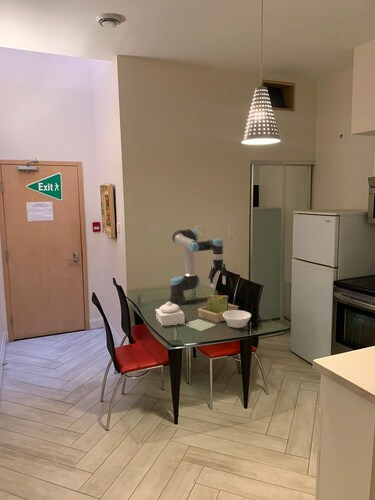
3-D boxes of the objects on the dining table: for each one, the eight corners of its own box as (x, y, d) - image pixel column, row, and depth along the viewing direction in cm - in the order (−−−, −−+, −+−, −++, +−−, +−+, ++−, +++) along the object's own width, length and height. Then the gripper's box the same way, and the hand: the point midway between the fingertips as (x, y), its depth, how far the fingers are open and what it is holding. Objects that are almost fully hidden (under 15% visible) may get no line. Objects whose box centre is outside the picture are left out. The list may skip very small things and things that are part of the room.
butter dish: (184, 323, 281) (183, 303, 279) (161, 327, 276) (160, 307, 273) (177, 316, 298) (176, 297, 295) (155, 320, 292) (154, 300, 290)
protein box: (227, 318, 292) (227, 299, 290) (207, 317, 295) (207, 298, 293) (228, 314, 302) (228, 295, 300) (209, 313, 305) (209, 294, 303)
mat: (183, 324, 281) (183, 324, 281) (198, 319, 291) (198, 318, 291) (200, 331, 267) (200, 330, 267) (216, 325, 278) (216, 324, 278)
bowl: (231, 318, 292) (231, 308, 291) (256, 323, 280) (256, 313, 279) (217, 326, 275) (217, 316, 274) (243, 332, 263) (243, 321, 262)
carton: (196, 317, 297) (196, 309, 296) (220, 308, 316) (220, 301, 315) (215, 323, 282) (215, 315, 281) (239, 314, 301) (239, 306, 300)
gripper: (210, 262, 281) (211, 289, 284) (232, 257, 297) (232, 283, 301) (203, 260, 286) (203, 287, 289) (224, 256, 303) (225, 281, 306)
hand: (218, 285), depth 295 cm, fingers open, 13 cm apart
